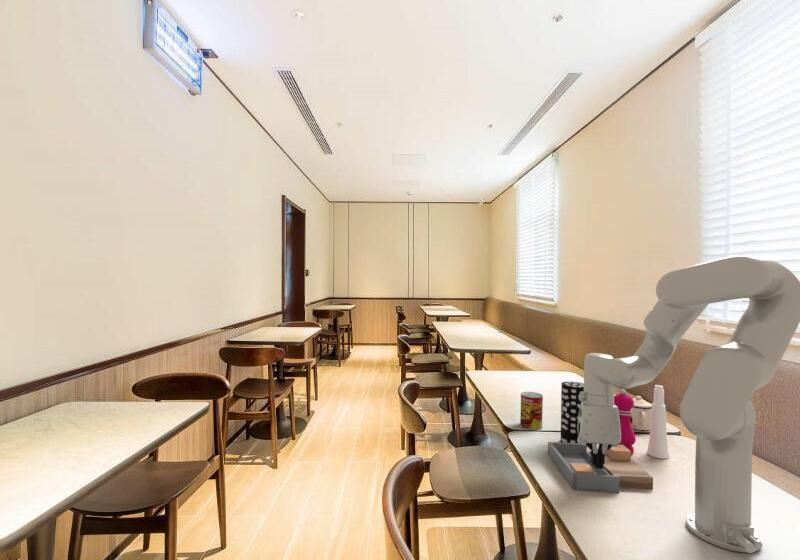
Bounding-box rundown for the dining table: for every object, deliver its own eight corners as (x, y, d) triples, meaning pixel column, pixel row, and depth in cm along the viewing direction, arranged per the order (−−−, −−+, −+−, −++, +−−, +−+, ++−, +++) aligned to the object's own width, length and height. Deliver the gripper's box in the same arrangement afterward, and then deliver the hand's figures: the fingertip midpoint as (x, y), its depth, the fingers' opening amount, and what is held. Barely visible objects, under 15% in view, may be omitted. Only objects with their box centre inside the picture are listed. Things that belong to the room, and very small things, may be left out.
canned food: (516, 423, 155) (516, 392, 155) (533, 422, 157) (534, 391, 157) (528, 430, 147) (529, 397, 148) (546, 428, 150) (547, 396, 150)
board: (653, 488, 106) (653, 477, 106) (613, 486, 107) (614, 475, 107) (623, 462, 122) (623, 452, 122) (589, 460, 123) (589, 450, 123)
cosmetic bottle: (654, 449, 132) (655, 382, 133) (673, 457, 127) (674, 387, 127) (642, 452, 130) (643, 384, 130) (661, 460, 124) (662, 388, 125)
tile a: (576, 470, 109) (575, 480, 109) (595, 472, 108) (595, 481, 108) (570, 462, 114) (569, 471, 114) (588, 463, 113) (588, 472, 113)
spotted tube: (559, 445, 134) (560, 385, 134) (561, 437, 141) (562, 380, 142) (586, 451, 130) (587, 388, 130) (588, 442, 138) (589, 383, 138)
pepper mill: (638, 456, 127) (639, 392, 127) (613, 454, 128) (614, 391, 128) (630, 447, 134) (631, 387, 134) (607, 445, 135) (608, 385, 135)
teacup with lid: (621, 421, 160) (622, 392, 160) (647, 424, 157) (648, 394, 157) (630, 432, 148) (630, 400, 148) (658, 435, 146) (658, 403, 146)
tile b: (631, 460, 117) (631, 451, 117) (613, 459, 117) (613, 450, 117) (622, 453, 122) (622, 444, 122) (605, 452, 122) (605, 443, 122)
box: (619, 492, 104) (619, 477, 104) (573, 490, 105) (573, 474, 105) (585, 456, 126) (585, 443, 126) (547, 454, 127) (548, 441, 127)
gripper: (575, 402, 107) (574, 471, 107) (634, 404, 106) (632, 474, 106) (565, 394, 115) (564, 459, 114) (620, 396, 114) (619, 462, 113)
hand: (597, 466), depth 110 cm, fingers closed
